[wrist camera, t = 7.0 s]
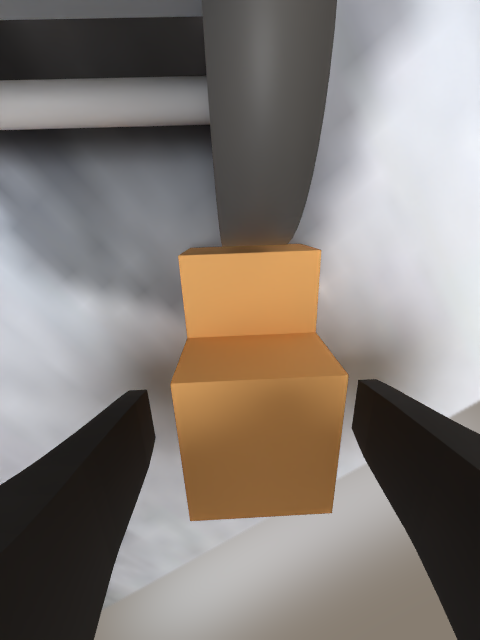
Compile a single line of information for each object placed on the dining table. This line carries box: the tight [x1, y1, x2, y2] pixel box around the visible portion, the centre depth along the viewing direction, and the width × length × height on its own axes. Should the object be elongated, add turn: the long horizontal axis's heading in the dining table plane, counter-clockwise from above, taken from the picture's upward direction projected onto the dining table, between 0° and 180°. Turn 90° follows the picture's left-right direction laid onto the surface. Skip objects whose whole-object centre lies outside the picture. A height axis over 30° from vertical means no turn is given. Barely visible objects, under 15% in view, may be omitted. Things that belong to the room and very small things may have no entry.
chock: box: [170, 244, 349, 521], centre depth 9 cm, size 7×4×5 cm, turn 2°
